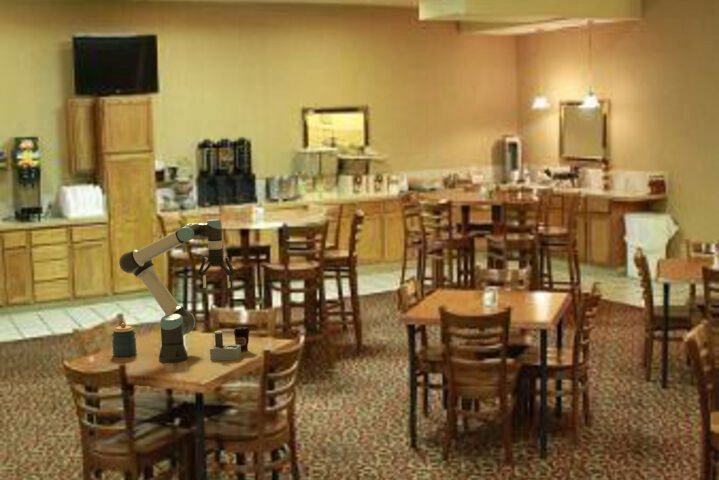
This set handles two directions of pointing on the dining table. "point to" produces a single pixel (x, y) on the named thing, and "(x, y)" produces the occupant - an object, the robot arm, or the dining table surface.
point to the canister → (124, 341)
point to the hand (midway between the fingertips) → (217, 287)
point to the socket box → (225, 352)
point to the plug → (218, 339)
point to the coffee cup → (242, 337)
